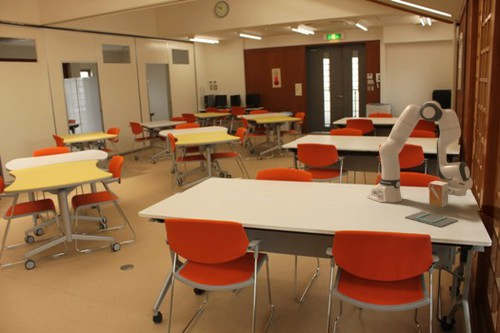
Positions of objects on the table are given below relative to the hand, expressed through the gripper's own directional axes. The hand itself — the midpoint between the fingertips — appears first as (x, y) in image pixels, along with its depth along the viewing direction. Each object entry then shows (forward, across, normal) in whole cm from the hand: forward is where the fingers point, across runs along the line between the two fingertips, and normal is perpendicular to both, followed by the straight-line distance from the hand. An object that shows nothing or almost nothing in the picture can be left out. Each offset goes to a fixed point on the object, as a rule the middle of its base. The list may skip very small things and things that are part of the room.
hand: (438, 191), depth 254 cm
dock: (+13, +5, +13) cm, 19 cm away
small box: (-1, 0, +8) cm, 8 cm away
